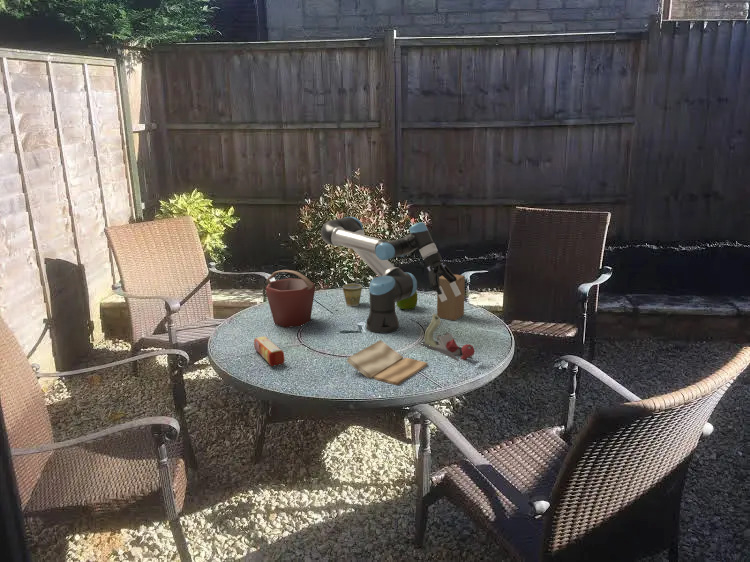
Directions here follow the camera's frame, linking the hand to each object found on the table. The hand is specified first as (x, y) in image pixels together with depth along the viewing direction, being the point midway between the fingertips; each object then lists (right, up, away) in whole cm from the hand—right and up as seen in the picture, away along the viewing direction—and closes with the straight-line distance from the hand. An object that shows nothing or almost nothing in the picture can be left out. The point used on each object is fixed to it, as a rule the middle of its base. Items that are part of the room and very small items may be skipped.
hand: (451, 298), depth 279 cm
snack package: (-78, -24, -20) cm, 84 cm away
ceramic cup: (-45, -5, +49) cm, 67 cm away
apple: (-18, -6, +41) cm, 45 cm away
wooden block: (+3, -10, +27) cm, 29 cm away
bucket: (-73, -12, +24) cm, 78 cm away
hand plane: (-4, -23, -18) cm, 29 cm away
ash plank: (-34, -24, -33) cm, 53 cm away
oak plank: (-24, -28, -39) cm, 53 cm away
